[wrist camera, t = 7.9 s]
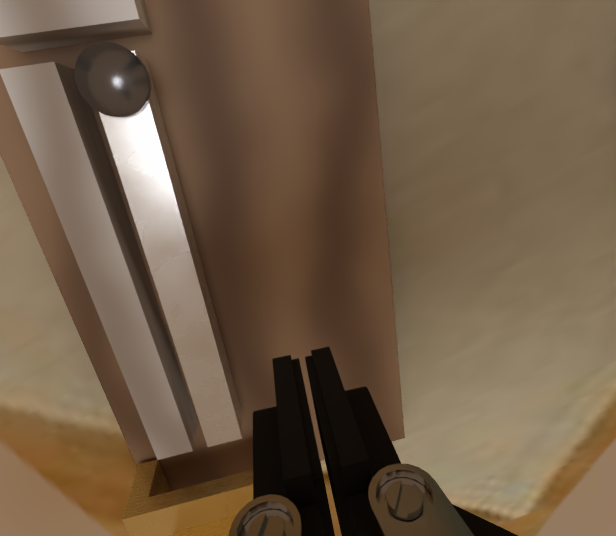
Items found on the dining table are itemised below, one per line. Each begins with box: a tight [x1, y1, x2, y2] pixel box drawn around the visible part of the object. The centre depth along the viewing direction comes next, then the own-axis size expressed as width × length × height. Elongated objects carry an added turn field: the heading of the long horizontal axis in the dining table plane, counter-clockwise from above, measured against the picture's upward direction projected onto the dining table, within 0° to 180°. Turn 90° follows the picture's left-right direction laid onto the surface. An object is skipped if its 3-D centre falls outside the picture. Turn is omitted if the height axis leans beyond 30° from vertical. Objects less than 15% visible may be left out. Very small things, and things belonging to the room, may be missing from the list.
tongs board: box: [0, 0, 405, 491], centre depth 21 cm, size 18×29×4 cm, turn 9°
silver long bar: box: [75, 42, 242, 447], centre depth 19 cm, size 3×20×3 cm, turn 9°
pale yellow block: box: [122, 460, 253, 536], centre depth 23 cm, size 9×4×6 cm, turn 99°
